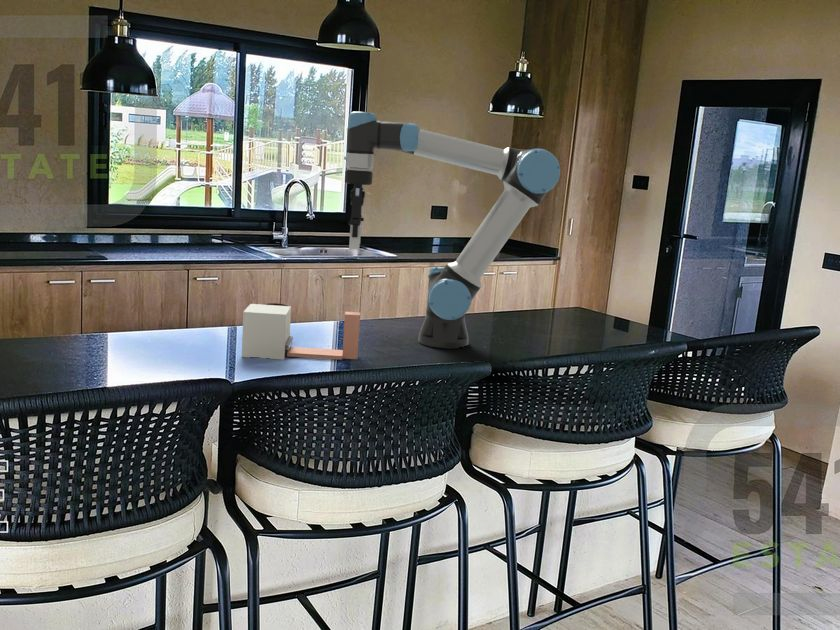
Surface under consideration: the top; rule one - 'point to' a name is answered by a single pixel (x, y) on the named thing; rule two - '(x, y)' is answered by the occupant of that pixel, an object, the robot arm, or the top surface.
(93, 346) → the top surface
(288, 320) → the off-white block
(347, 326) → the orange l-shaped bracket
